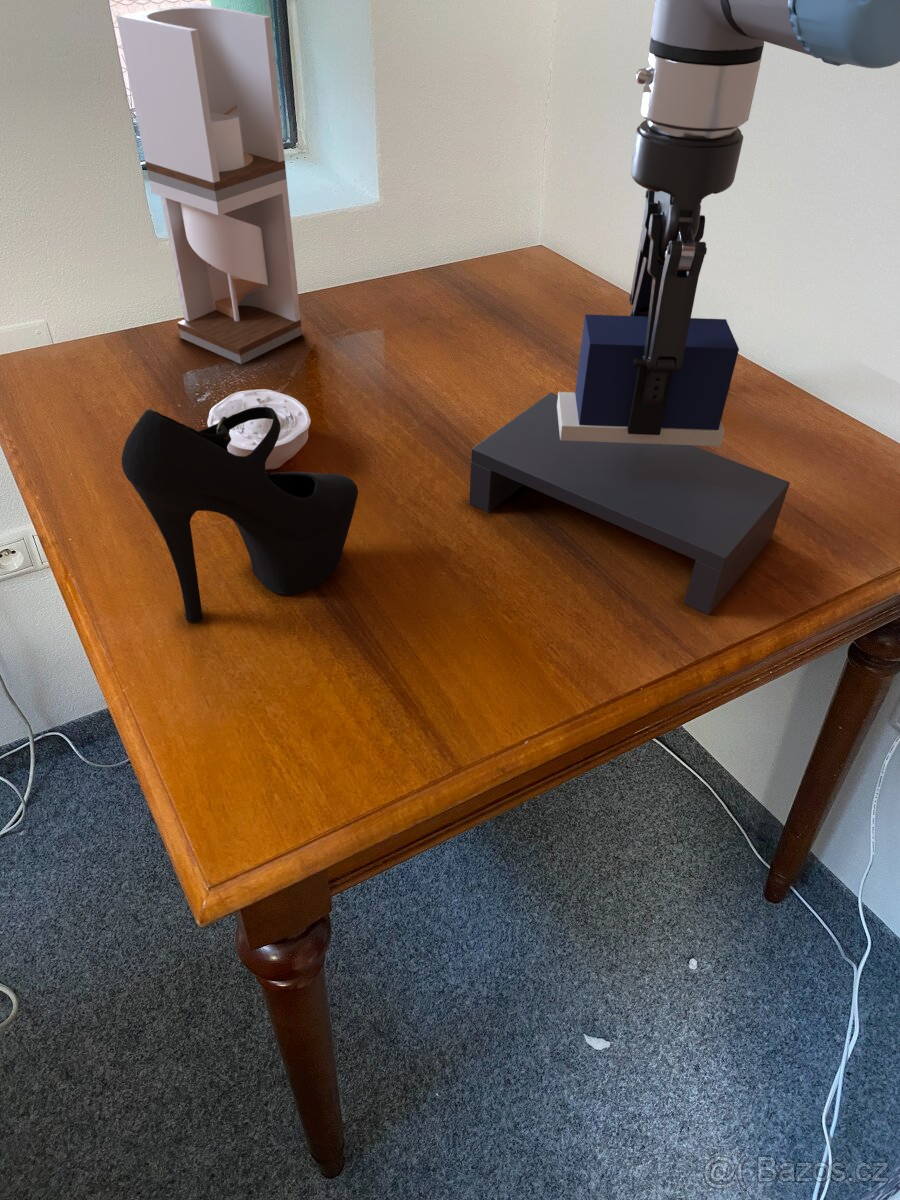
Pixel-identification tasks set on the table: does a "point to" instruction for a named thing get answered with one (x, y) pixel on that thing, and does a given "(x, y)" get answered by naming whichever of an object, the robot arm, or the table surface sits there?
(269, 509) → the high-heeled shoe
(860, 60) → the robot arm
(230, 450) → the cell model
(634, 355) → the navy block on base
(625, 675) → the table surface
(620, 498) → the shoe shelf
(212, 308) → the white architectural model
